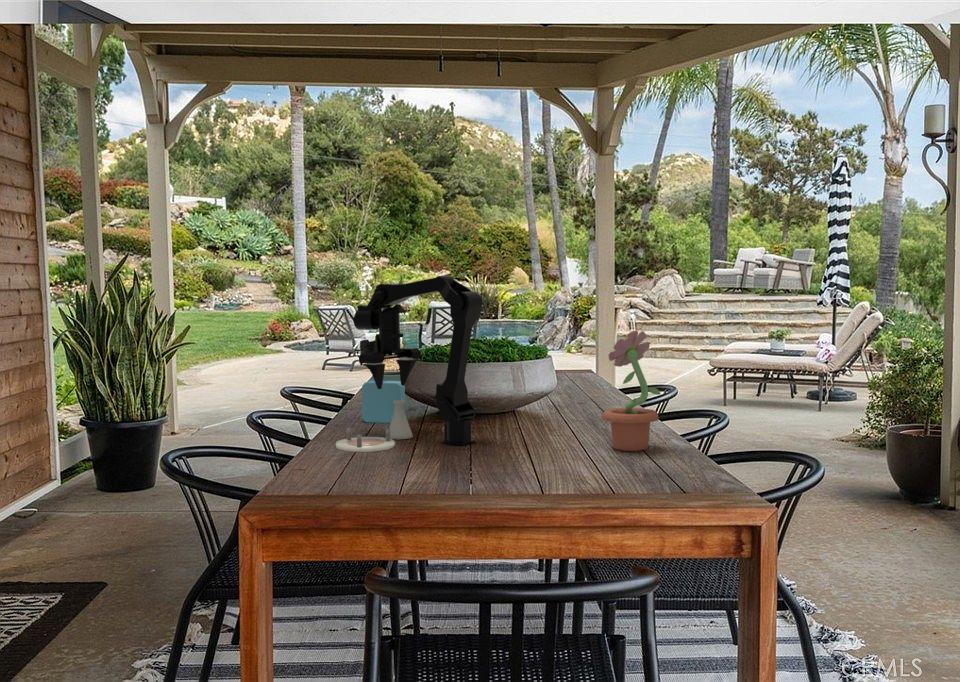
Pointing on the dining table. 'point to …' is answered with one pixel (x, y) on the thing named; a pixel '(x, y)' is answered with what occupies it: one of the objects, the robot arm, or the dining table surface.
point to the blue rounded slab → (381, 400)
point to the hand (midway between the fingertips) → (391, 387)
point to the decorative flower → (629, 421)
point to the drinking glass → (396, 377)
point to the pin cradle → (365, 443)
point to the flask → (399, 422)
